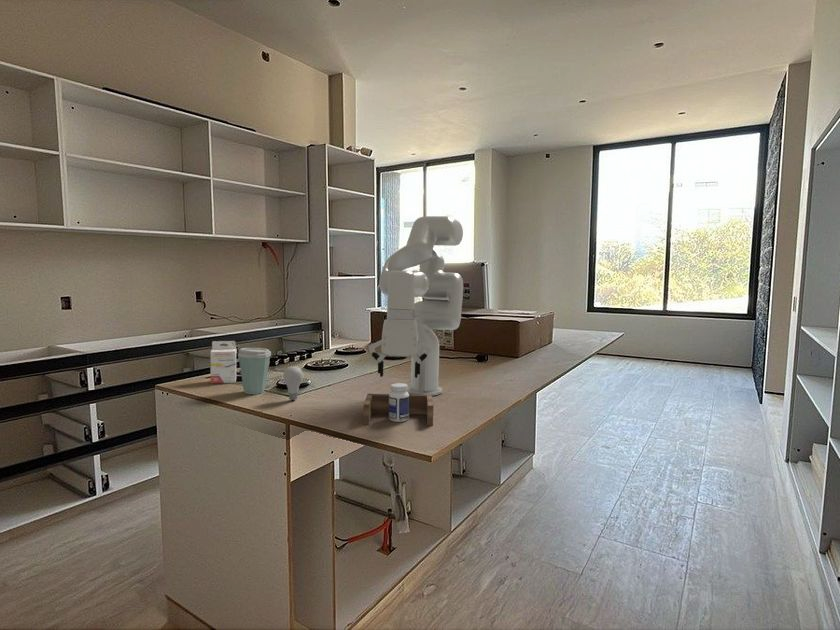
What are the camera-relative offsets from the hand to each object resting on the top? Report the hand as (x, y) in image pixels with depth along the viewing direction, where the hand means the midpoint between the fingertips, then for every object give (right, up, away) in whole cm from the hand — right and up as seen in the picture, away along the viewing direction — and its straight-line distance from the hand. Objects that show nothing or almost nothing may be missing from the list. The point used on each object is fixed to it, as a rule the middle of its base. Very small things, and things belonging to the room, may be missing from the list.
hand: (398, 376), depth 133 cm
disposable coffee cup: (-49, -9, +27) cm, 57 cm away
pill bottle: (0, -13, +2) cm, 13 cm away
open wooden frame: (0, -12, +2) cm, 12 cm away
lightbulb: (-34, -10, +18) cm, 40 cm away
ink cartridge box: (-66, -7, +41) cm, 78 cm away
